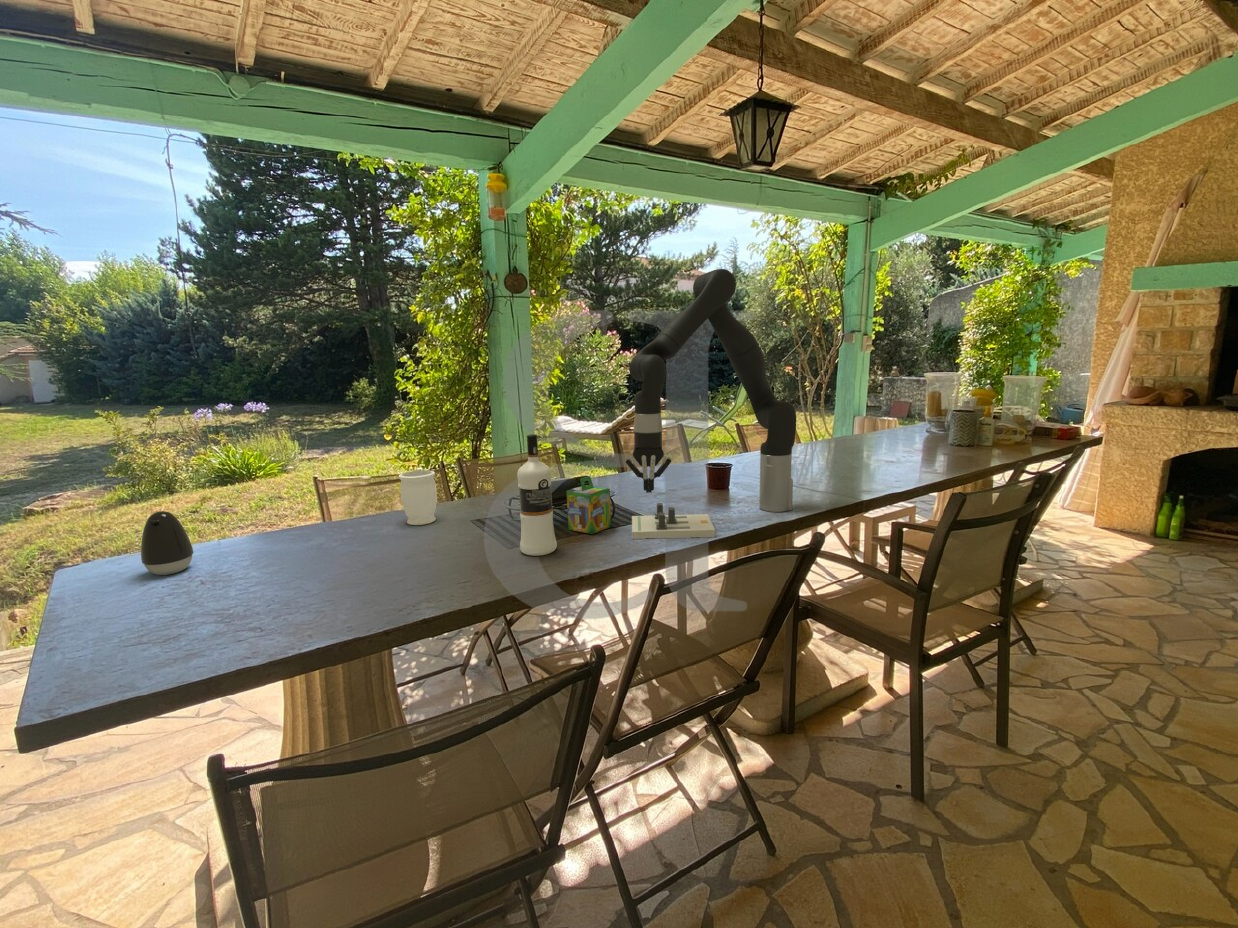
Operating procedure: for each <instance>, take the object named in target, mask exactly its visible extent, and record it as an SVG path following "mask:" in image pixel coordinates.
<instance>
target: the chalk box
mask: <svg viewBox="0 0 1238 928" xmlns="http://www.w3.org/2000/svg"><path fill="white" fill-rule="evenodd" d="M579 482H580V486H578V487H574V488H573V487H572V488H571V489H567V490H566V505H567V507H566V508H567V509H566V510H567V524H568V525H567V527H568V530H569V531H574V532H580V533H584V534H588V535H594V534H596V533H599V532H601V531H604V530H606V529H609V528H611V527H612V516H611V515H612V513H611V512H612V511H611V510H612V508H611V488H607V487H601V486H597V485H593V481H592V477H591V476H590V475H588V476H585V477H581V478H580V479H579ZM585 482H588V484H586V485H585Z"/></svg>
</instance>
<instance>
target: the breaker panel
mask: <svg viewBox="0 0 1238 928" xmlns="http://www.w3.org/2000/svg"><path fill="white" fill-rule="evenodd" d="M666 519H668V514H667V515H666V514H665V524H667V529H657V527H656V524H659V520H658V518H655V515H632V516H631V532H632V533H631V534H632V540H646V538H657V539H689V538H691V537H700V538H715V537H716V528H715V527H714V524H713V522H712V520H711V518H710V516H709V514H708V513H705V514H699V513H698V514H697V513H696V514H675V519H676V520H677V523H667V521H666Z"/></svg>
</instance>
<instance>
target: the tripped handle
mask: <svg viewBox="0 0 1238 928" xmlns="http://www.w3.org/2000/svg"><path fill="white" fill-rule="evenodd" d="M667 510H668V511H667V513H668V514H667V515H668V519H666V521H667V523H677V520H676V519H675V515H676V514H675V512H676V511H675V507H674V506H671V507H668V508H667Z"/></svg>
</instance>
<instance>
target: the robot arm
mask: <svg viewBox="0 0 1238 928" xmlns="http://www.w3.org/2000/svg"><path fill="white" fill-rule="evenodd" d="M736 281H737V280H736V278H735V276H734V274H733V273H732V272H731V271H730V270H728V269H725V268H716V269H713V270H711V271H708V272H705V273H703V274H701V275H699V276H697V277H696V278H695V279H694V282H693V284H692V292H693V293H692V294H693V296H694V300H693V301H692V302H691V303H690V304H689V305H688V306H687V307H686V308H684V309H683V310H682V311H681V312H679V313H678V314H677V315H676V316H674V317H673V318H672V319H671V320H670V321H669V322H668V323H667V324H666V325H665V327H663V328H662V330H661V331H660V332H659V333H658V335H657V336H656V337H654V338H655V339H653V340H652V341H651V342H649V343H648V344H647V345H645V346H644V347H643V348H642V349H640V350H639V351H638V352H637V353H636V354H635V355H634V356H633V357H632V359H631V360H630V362H629V367H628V371H629V374H630V376H631V378H633V379H634V380H636V381H638V382H642V386H641V390H638V391H637V392H636V393H635V395H634V420H633V435H634V436H633V439H634V440H633V442H634V444H633V445H634V446H633V447H634V450H633V451H632V455H631V456H630V457H628V458H626V459H625V463H626V465H627V466H628V468H629V469H630V470H631V471H632V472H633V473H634V474H635V475H636V477H637V478H641V479H642V480H643V491H645V493H651V494H652V491H653V492H654V490H655V479H656V478H660V477H661V476H662V474H663V473H664V472H665V471H666V470H667V468H668V467H669V465H670V464H671V463H672V459H671V457H668V456H666V455H665V452H664V450H663V423H662V422H663V420H662V419H663V418H662V411H661V410H662V399H661V397H662V393H663V391H664V388H665V387H664V386H665V380H666V376H667V367H666V363H665V361H667V360H669V359H673V358H674V357H675V356H676V355H677V354H678V352H679V351H681V349H682V348H683V347H684V346H685V344H686V343H687V342H688V340H689V339H691V337H692V336H693V335H694V334H695V332H696V331H698V329H699V328H700V327H701V326H702V325H703V324H704V323H705V322H706V320H708V321H709V323H710V325H711V326H712V329H713V331H714V332H715V334H716V336H717V337H718V339H719V342H720V343H721V345H722V347H723V349H724V351H725V354H726V356H727V358H728V360H729V363H731V366H732V368H733V370H734V372H735V374H736V376H737V378H738V379H739V382H740V383H741V385H742V387H743V389H744V391H745V393H746V395H747V397H748V400H749V403H750V405H751V408H752V410H753V413H754V416H755V418H756V420H757V422H758V424H759V426H761V427H762V428H763V429H765V430H767V435H766V440H765V441H764V442H762V443H761V444H760V451H759V453H760V454H759V455H760V456H759V457H760V458H759V464H760V465H759V500H758V502H759V503H758V504H759V505H758V506H759V509H760V510H763V511H765V512H772V513H781V512H787V511H788V512H789V511H792V510H793V495H794V494H793V493H794V492H793V491H794V489H793V488H794V479H793V478H792V459H793V458H792V455H793V447H794V446H795V443H796V442H795V441H796V434H797V433H796V431H797V430H796V429H797V412H796V408H795V406H794V405H793V404H792V403H791V402H788V401H785V400H779V399H778V398H777V397H776V396H775V394H774V393H773V391H772V389H771V387H770V385H769V383H768V379H767V372H766V371H767V369H766V360H765V356H764V354H763V351H762V349H761V347H760V345H759V343H758V341H757V339H756V337H755V336H754V335H753V333H752V332H751V331H750V330H749V329H748V328H746V326H744V325H743V324H742V323H741V322H740V321H739V320H737V319H736V318H735V316H734V315H733V314H732V312H731V311H730V309H729V307H728V305H727V302H728V301H730V299H731V298H733V296H734V294H735V292H736V290H737V289H736V288H737V282H736ZM661 460H662V461H661ZM660 461H661V463H662V464H661V465H660V466H659V467H658V468H657V470H656V471H655V469H656V467H657V466H658V465H659V464H660ZM635 462H637V463H638V464H639V466H640V467H642V471H641V470H640V469H639V468H638V467H637V466H636V465H635V464H636V463H635ZM648 467H649V473H648Z"/></svg>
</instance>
